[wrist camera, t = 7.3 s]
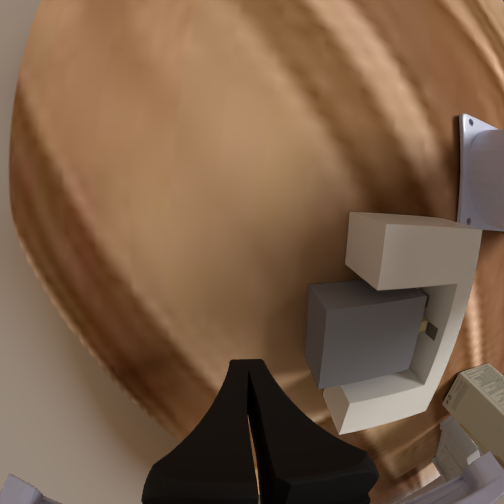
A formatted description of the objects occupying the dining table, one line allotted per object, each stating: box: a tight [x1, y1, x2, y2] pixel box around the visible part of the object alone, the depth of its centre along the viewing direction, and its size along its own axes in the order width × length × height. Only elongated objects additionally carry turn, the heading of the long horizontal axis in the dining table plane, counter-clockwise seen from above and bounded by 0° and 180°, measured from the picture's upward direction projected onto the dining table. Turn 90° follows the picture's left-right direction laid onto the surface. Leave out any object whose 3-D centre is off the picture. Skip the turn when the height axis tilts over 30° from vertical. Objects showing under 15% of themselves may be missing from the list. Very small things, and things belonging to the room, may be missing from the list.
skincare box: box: [442, 363, 504, 470], centre depth 15 cm, size 6×4×12 cm
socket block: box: [323, 212, 482, 435], centre depth 15 cm, size 7×13×4 cm, turn 179°
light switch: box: [432, 415, 480, 483], centre depth 20 cm, size 2×12×8 cm, turn 22°
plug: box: [305, 279, 428, 389], centre depth 15 cm, size 7×5×4 cm
